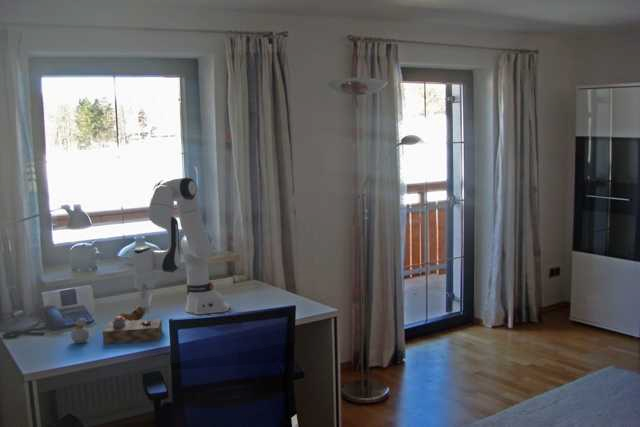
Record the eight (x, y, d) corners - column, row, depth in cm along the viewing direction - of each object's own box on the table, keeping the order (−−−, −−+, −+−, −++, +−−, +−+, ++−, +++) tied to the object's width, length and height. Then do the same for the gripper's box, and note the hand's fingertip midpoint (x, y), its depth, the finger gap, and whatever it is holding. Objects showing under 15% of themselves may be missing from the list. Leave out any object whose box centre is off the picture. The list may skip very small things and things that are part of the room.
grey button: (152, 332, 303) (151, 320, 302) (151, 335, 298) (150, 323, 298) (142, 332, 302) (141, 321, 301) (141, 335, 298) (140, 323, 297)
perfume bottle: (81, 338, 300) (79, 313, 299) (96, 341, 296) (94, 315, 294) (68, 343, 294) (65, 317, 292) (83, 346, 289) (81, 320, 288)
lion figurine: (144, 322, 324) (143, 304, 322) (147, 324, 319) (146, 306, 318) (114, 326, 317) (112, 308, 316) (116, 329, 312) (114, 311, 311)
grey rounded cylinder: (125, 327, 301) (124, 315, 300) (123, 330, 296) (122, 318, 296) (115, 327, 300) (114, 316, 299) (113, 330, 296) (112, 318, 295)
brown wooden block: (162, 331, 308) (161, 318, 307) (159, 340, 294) (158, 327, 294) (109, 334, 305) (108, 322, 304) (103, 344, 291) (102, 331, 290)
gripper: (150, 287, 287) (152, 318, 290) (154, 276, 307) (156, 305, 309) (135, 289, 286) (138, 319, 289) (140, 278, 306) (142, 306, 309)
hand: (147, 312), depth 299 cm, fingers closed
